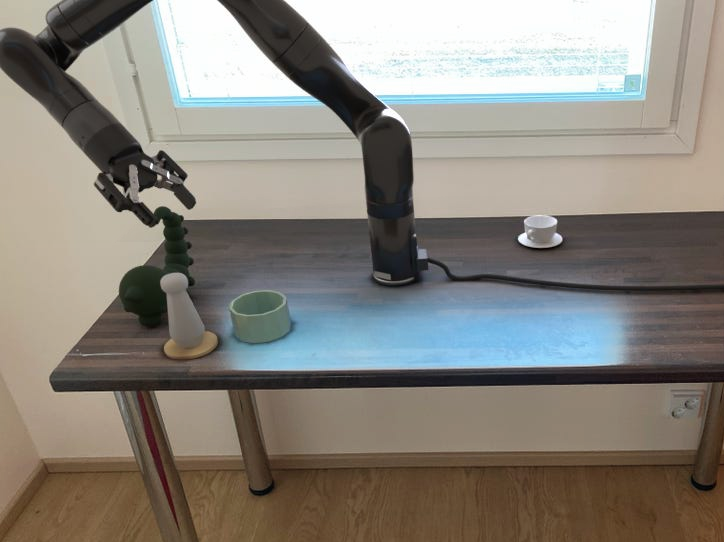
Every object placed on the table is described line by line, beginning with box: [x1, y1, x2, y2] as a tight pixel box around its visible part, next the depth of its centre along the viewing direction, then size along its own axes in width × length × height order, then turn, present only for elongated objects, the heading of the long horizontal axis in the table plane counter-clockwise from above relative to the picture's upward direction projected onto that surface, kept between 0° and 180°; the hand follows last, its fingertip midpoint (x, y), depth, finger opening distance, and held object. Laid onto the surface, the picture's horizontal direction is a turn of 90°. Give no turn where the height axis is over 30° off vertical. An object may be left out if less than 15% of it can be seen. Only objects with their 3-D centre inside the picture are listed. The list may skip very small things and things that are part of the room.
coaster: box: [163, 330, 219, 361], centre depth 131 cm, size 9×9×1 cm
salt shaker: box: [160, 273, 206, 349], centre depth 127 cm, size 6×6×13 cm
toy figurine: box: [118, 205, 196, 328], centre depth 138 cm, size 9×19×25 cm
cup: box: [228, 289, 292, 344], centre depth 134 cm, size 10×10×6 cm
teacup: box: [517, 214, 563, 249], centre depth 166 cm, size 10×10×5 cm
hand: (174, 215), depth 121 cm, fingers open, 8 cm apart
